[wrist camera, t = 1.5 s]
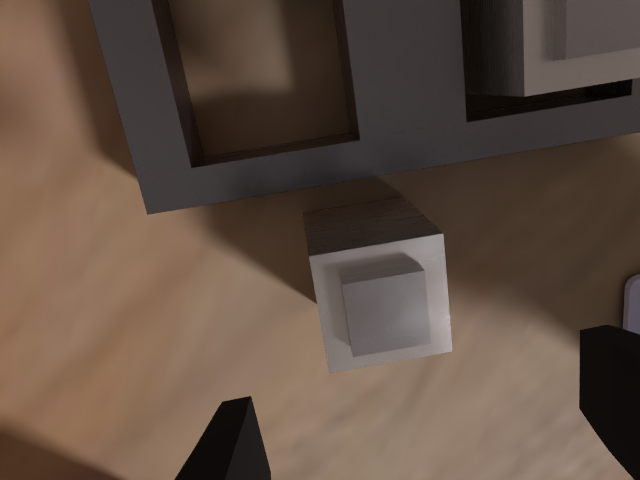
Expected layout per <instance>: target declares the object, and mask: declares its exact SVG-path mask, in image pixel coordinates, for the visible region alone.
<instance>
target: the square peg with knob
mask: <svg viewBox="0 0 640 480" xmlns="http://www.w3.org/2000/svg"><path fill="white" fill-rule="evenodd" d="M460 13H461V31H462V49H463V67H464V85H465V94H474V95H498V96H522V97H525V96H531V95H537V94H543V93H549V92H556V91H562V90H568V89H574V88H580V87H586V86H592V85H598V84H604V83H610V82H616V81H622V80H628V79H634V78H640V0H460Z"/></svg>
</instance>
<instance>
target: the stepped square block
mask: <svg viewBox="0 0 640 480" xmlns="http://www.w3.org/2000/svg"><path fill="white" fill-rule="evenodd" d="M303 219H304V226H305V233H306V240H307V247H308V254H309V260H310V266H311V271H312V277H313V283H314V289H315V294H316V300H317V306H318V312H319V317H320V323H321V329H322V335H323V340H324V346H325V352H326V358H327V364H328V369H329V373H332V372H338V371H344V370H349V369H355V368H361V367H366V366H372V365H378V364H383V363H389V362H395V361H400V360H406V359H412V358H417V357H423V356H429V355H434V354H440V353H446V352H451V351H452V339H451V326H450V313H449V300H448V287H447V273H446V260H445V247H444V234H443V233H442V232H441V231H440V230H439V229H438V228H437V227H436V226H435V225H434V224H433V223H432V222H430V221H429V220H428V219H427V218H426V217H425V216H424V215H423V214H422V213H421V212H420V211H419V210H417V209H416V208H415V207H414V206H413V205H412V204H411V203H410V202H409V201H408V200H407V199H406V198H404V197H403V196H402V197H396V198H391V199H385V200H379V201H373V202H367V203H361V204H355V205H349V206H343V207H337V208H331V209H326V210H320V211H314V212H308V213H303Z"/></svg>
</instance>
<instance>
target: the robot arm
mask: <svg viewBox="0 0 640 480" xmlns="http://www.w3.org/2000/svg"><path fill="white" fill-rule="evenodd" d="M579 408H580V410H581V411H582V413H583V414H584V416H585V417H586V419H587V420H588V422H589V423H590V425H591V426H592V428H593V429H594V431H595V432H596V433H597V435H598V436H599V438H600V439H601V440H602V442H603V443H604V445H605V446H606V447H607V449H608V450H609V451H610V452H611V454H612V455H613V456H614V457H615V458H616V459H617V461H618V462H619V463H620V464H621V465H622V466H623V467H624V468H625V470H626V471H627V472H628V473H629V474H630V475H631V476H632V477H633V479H634V480H640V274H639V275H635V276H633V277H631V278H630V279H629V280H628V281H627V283H626V285H625V296H624V314H623V329H621V328H618V327H614V326H610V325H604V326H599V327H594V328H589V329H584V330H580V400H579ZM175 480H271V471H270V467H269V464H268V460H267V456H266V452H265V448H264V444H263V440H262V437H261V433H260V429H259V425H258V421H257V417H256V413H255V410H254V406H253V402H252V398H251V396H249V397H244V398H239V399H234V400H229V401H224V402H222V403H221V405H220V406H219V407H218V409H217V411H216V413H215V414H214V416H213V418H212V419H211V421H210V423H209V424H208V426H207V428H206V430H205V431H204V433H203V435H202V436H201V438H200V440H199V441H198V443H197V445H196V446H195V448H194V450H193V451H192V453H191V455H190V456H189V458H188V459H187V461H186V462H185V464H184V465H183V467H182V469H181V470H180V472H179V473H178V475H177V476H176V478H175Z"/></svg>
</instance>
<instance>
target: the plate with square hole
mask: <svg viewBox="0 0 640 480" xmlns="http://www.w3.org/2000/svg"><path fill="white" fill-rule="evenodd" d="M88 3H89V7H90V11H91V14H92V18H93V21H94V25H95V28H96V32H97V36H98V39H99V43H100V46H101V50H102V53H103V57H104V61H105V64H106V68H107V71H108V75H109V79H110V82H111V86H112V89H113V93H114V96H115V100H116V104H117V107H118V111H119V114H120V118H121V122H122V125H123V129H124V132H125V136H126V139H127V143H128V147H129V150H130V154H131V157H132V161H133V164H134V168H135V172H136V175H137V179H138V182H139V186H140V190H141V193H142V197H143V200H144V204H145V207H146V211H147V215H148V214H154V213H160V212H166V211H172V210H178V209H184V208H190V207H196V206H202V205H208V204H214V203H220V202H226V201H232V200H238V199H244V198H250V197H256V196H262V195H268V194H274V193H280V192H286V191H292V190H298V189H303V188H309V187H315V186H321V185H327V184H333V183H339V182H345V181H351V180H357V179H363V178H369V177H375V176H381V175H387V174H393V173H399V172H405V171H411V170H417V169H423V168H429V167H435V166H441V165H447V164H453V163H459V162H465V161H471V160H477V159H483V158H489V157H494V156H500V155H506V154H512V153H518V152H524V151H530V150H536V149H542V148H548V147H554V146H560V145H566V144H572V143H578V142H584V141H590V140H596V139H602V138H608V137H614V136H620V135H626V134H632V133H638V132H640V78H634V79H628V80H622V81H616V82H610V83H604V84H598V85H592V86H586V94H584V95H578V96H571V97H565V98H559V99H553V100H547V101H541V102H535V103H529V104H523V105H517V106H511V107H505V108H499V109H493V110H487V111H481V112H475V113H469V114H466V103H465V85H464V67H463V49H462V31H461V13H460V0H333V7H334V15H335V22H336V30H337V37H338V45H339V53H340V60H341V68H342V75H343V83H344V90H345V98H346V106H347V113H348V121H349V128H350V133H348V134H342V135H336V136H330V137H324V138H318V139H312V140H306V141H300V142H294V143H288V144H282V145H276V146H269V147H263V148H257V149H251V150H245V151H239V152H233V153H227V154H221V155H215V156H209V157H204V156H203V151H202V147H201V143H200V138H199V134H198V130H197V125H196V121H195V117H194V112H193V108H192V104H191V99H190V95H189V91H188V86H187V82H186V78H185V73H184V69H183V65H182V60H181V56H180V52H179V47H178V43H177V39H176V34H175V30H174V26H173V22H172V17H171V13H170V9H169V4H168V0H88Z"/></svg>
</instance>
